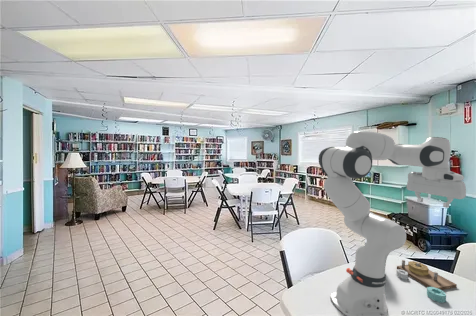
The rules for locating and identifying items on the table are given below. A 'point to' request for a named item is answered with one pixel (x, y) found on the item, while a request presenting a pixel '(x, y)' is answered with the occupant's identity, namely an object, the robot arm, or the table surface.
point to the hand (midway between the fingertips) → (432, 204)
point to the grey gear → (402, 274)
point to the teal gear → (436, 294)
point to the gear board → (426, 275)
